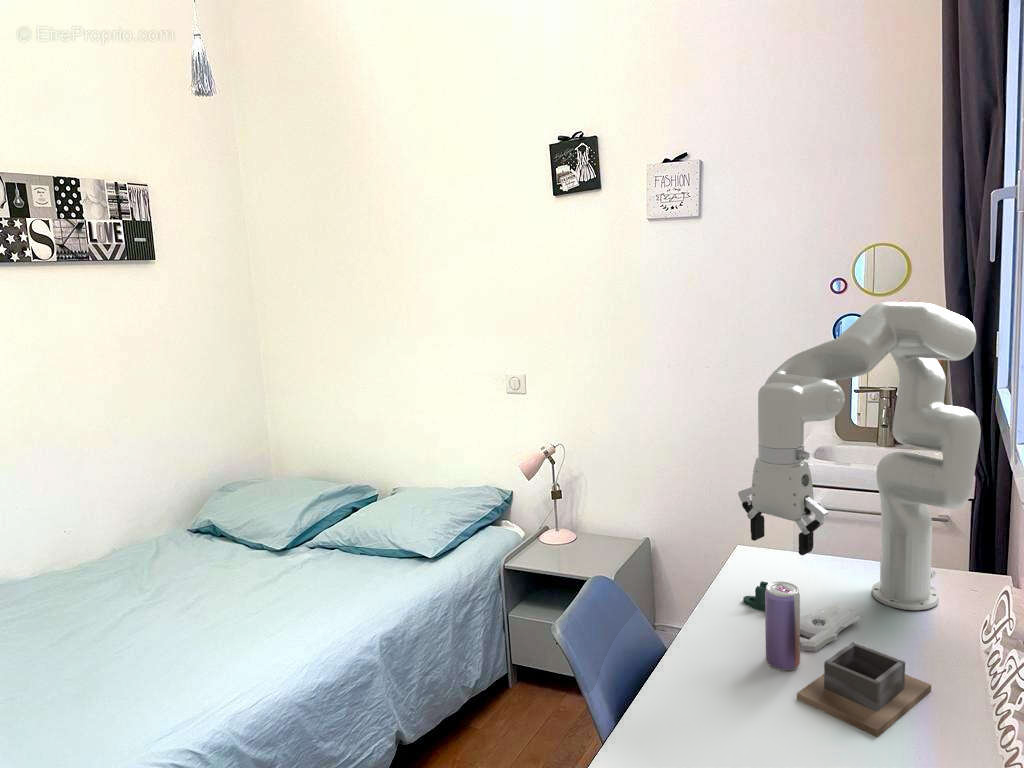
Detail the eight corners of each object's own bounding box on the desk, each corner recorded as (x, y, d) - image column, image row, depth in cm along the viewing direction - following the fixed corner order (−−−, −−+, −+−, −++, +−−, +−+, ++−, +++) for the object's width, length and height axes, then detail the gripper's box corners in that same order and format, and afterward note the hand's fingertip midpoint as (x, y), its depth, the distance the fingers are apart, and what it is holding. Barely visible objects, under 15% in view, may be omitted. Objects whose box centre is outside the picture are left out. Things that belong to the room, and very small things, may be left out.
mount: (798, 609, 162) (798, 587, 161) (791, 618, 159) (791, 596, 158) (747, 598, 169) (747, 577, 168) (740, 606, 165) (739, 585, 164)
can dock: (852, 659, 142) (852, 628, 141) (931, 690, 131) (932, 657, 130) (796, 699, 132) (796, 666, 130) (877, 737, 120) (877, 701, 119)
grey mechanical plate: (817, 593, 161) (863, 610, 153) (818, 608, 162) (863, 625, 154) (764, 627, 151) (810, 647, 143) (765, 643, 152) (811, 664, 144)
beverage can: (781, 675, 139) (781, 598, 136) (758, 660, 144) (757, 585, 141) (807, 666, 141) (807, 590, 138) (783, 651, 146) (783, 578, 144)
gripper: (838, 457, 131) (837, 552, 134) (751, 441, 144) (752, 527, 147) (814, 467, 126) (813, 565, 129) (726, 449, 140) (728, 538, 143)
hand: (781, 545), depth 138 cm, fingers open, 9 cm apart
